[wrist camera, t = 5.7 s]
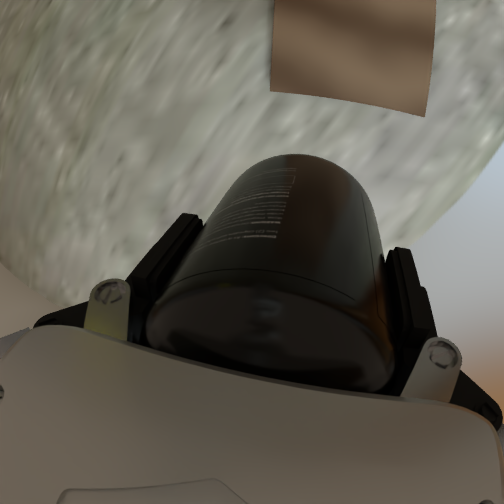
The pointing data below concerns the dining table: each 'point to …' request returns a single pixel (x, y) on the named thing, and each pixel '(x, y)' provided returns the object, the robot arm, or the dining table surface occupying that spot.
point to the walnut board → (355, 51)
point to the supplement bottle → (285, 283)
